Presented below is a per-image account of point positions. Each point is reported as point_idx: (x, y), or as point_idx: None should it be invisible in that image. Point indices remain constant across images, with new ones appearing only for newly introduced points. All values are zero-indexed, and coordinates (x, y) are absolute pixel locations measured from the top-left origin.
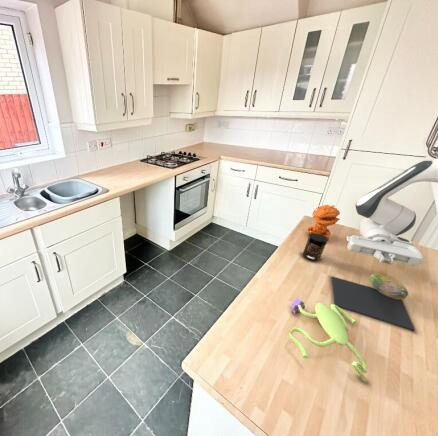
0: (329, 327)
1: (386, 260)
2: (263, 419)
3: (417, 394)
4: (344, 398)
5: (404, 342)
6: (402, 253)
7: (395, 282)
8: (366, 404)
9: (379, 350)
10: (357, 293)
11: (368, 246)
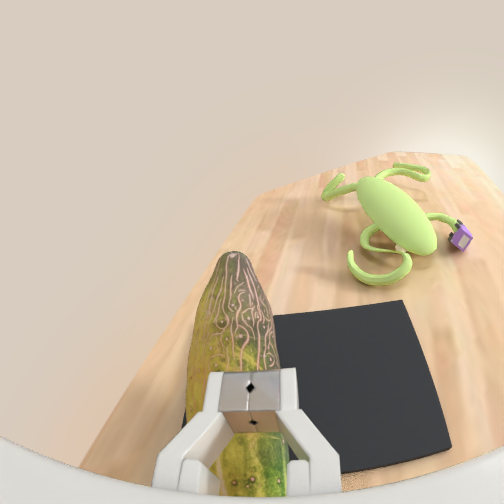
0: (390, 184)
1: (261, 372)
2: (395, 154)
3: (258, 215)
4: (342, 181)
5: None
6: (77, 482)
7: (232, 321)
8: (320, 186)
9: (298, 244)
10: (347, 398)
11: (439, 475)
